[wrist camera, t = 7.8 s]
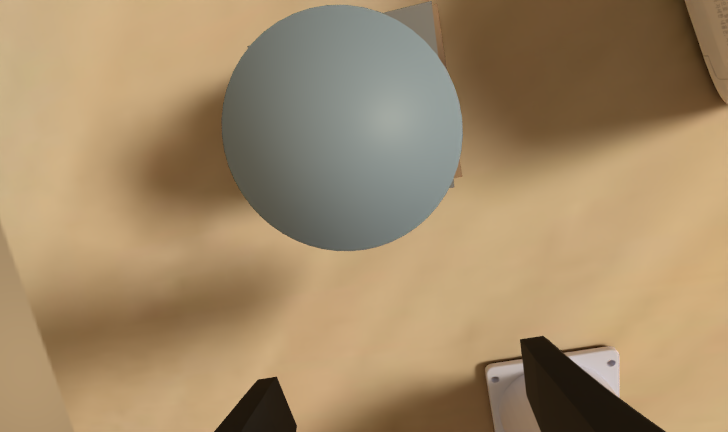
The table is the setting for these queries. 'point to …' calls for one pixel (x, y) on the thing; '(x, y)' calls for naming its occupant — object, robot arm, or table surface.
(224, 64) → the table surface
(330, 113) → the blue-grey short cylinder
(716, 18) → the cream book
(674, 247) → the table surface
